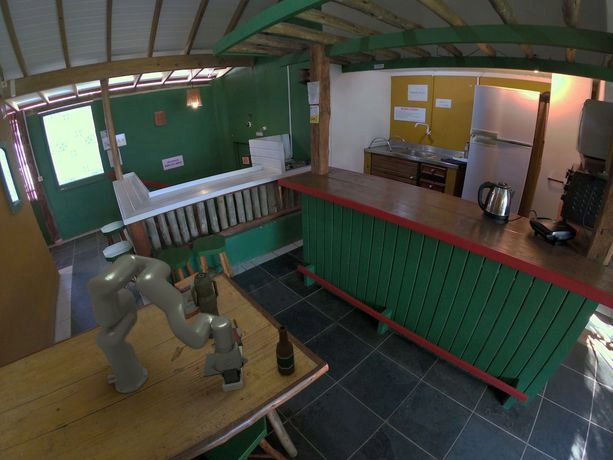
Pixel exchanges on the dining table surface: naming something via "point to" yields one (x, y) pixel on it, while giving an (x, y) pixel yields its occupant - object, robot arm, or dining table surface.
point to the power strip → (234, 385)
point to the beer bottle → (284, 353)
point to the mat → (209, 362)
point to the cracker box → (188, 295)
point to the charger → (231, 376)
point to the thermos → (205, 295)
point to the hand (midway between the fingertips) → (232, 375)
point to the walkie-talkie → (237, 334)
